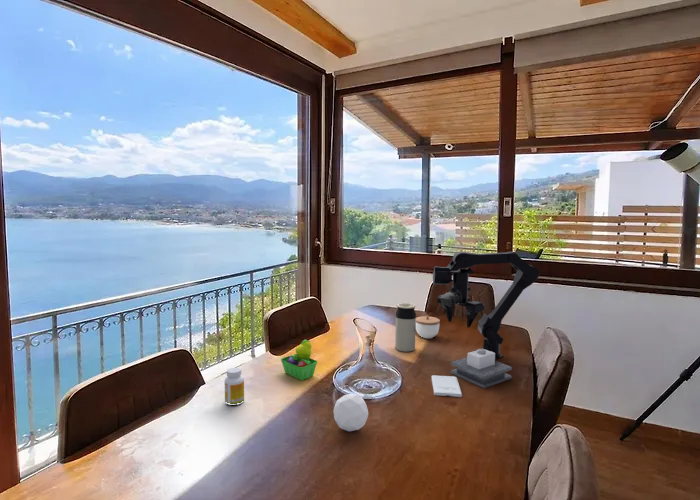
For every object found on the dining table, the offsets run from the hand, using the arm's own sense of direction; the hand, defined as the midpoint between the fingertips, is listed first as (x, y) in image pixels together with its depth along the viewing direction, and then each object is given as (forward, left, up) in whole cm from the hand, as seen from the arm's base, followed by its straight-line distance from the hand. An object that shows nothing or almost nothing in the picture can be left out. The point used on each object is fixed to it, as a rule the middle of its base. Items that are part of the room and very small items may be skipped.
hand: (458, 324), depth 155 cm
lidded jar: (-6, -23, -12) cm, 27 cm away
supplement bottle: (+85, -8, -12) cm, 86 cm away
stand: (+9, +18, -12) cm, 23 cm away
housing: (+9, +18, -8) cm, 22 cm away
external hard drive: (+25, +18, -13) cm, 33 cm away
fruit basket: (+60, -16, -12) cm, 63 cm away
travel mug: (+13, -16, -12) cm, 24 cm away
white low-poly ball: (+63, +21, -12) cm, 67 cm away
